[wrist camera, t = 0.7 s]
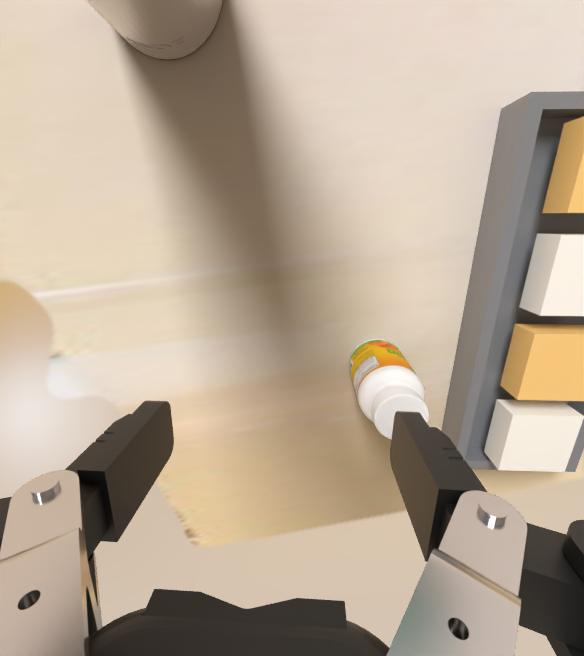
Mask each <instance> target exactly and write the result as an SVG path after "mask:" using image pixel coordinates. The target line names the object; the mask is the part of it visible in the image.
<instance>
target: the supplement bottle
mask: <svg viewBox="0 0 584 656" xmlns="http://www.w3.org/2000/svg"><path fill="white" fill-rule="evenodd" d="M349 372H350V375H351V379H352V382H353V385H354V389H355V392H356V395H357V399H358V402H359V405H360V408H361V410H362V411H363V413H364V414H365V416H366V417H367V418H368V419H370V420H371V421H373V422H374V423H375V426H376V428H377V430H378V431H379V432H380V433H381V434H382V435H383V436H385V437H386V438H389V439H392V431H393V423H394V416H395V413H396V412H397V411H405V412H419V413H420V414H421V415H422V417H423V418H424V420H425V421H426V423H428V419H429V412H428V408H427V406H426V404H425V403H424V402H425V390H424V386H423V384H422V382H421V380H420V379H419V377H418V376H417V374H416V373H415V372H414V370H413V369H412V368H411V366H410V365H409V363H408V362H407V361H406V359H405V358H404V356H403V355H402V354H401V352H400V351H399V349H398V348H397V347H396V346H395V345H394V344H392V343H391V342H389V341H387V340H383V339H370V340H367V341H364V342H362V343H361V344H359V345H358V346H357V347H356V348H355V349H354V350H353V352H352V353H351V355H350V358H349Z"/></svg>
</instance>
